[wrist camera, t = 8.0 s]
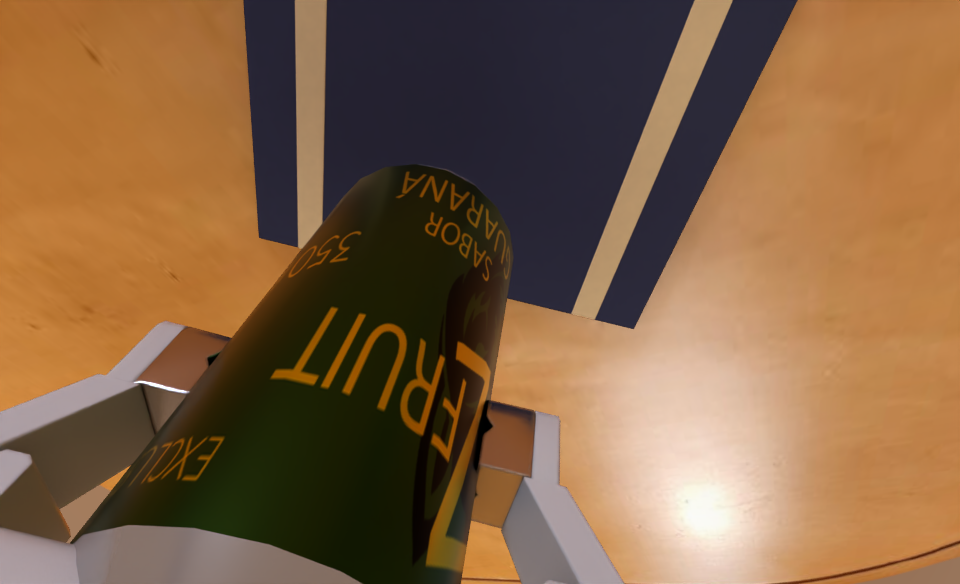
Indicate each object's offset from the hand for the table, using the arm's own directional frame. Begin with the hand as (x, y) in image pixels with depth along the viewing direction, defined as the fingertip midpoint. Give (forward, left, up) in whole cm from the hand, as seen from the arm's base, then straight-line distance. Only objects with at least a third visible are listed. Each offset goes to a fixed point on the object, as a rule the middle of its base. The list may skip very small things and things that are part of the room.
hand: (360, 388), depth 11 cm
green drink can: (0, 0, -6) cm, 6 cm away
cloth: (0, 0, -17) cm, 17 cm away
